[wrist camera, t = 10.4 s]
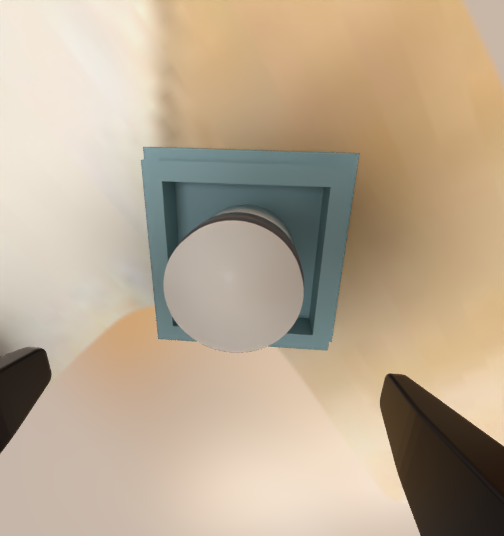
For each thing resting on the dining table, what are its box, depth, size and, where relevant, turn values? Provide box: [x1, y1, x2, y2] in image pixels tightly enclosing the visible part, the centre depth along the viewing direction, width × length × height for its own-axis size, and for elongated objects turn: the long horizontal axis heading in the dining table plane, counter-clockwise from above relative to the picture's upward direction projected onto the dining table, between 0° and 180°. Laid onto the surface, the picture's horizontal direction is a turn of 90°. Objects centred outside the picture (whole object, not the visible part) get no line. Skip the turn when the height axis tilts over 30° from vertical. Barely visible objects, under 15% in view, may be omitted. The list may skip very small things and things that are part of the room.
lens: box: [163, 204, 304, 353], centre depth 15 cm, size 6×6×6 cm
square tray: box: [141, 147, 359, 350], centre depth 17 cm, size 12×12×3 cm
